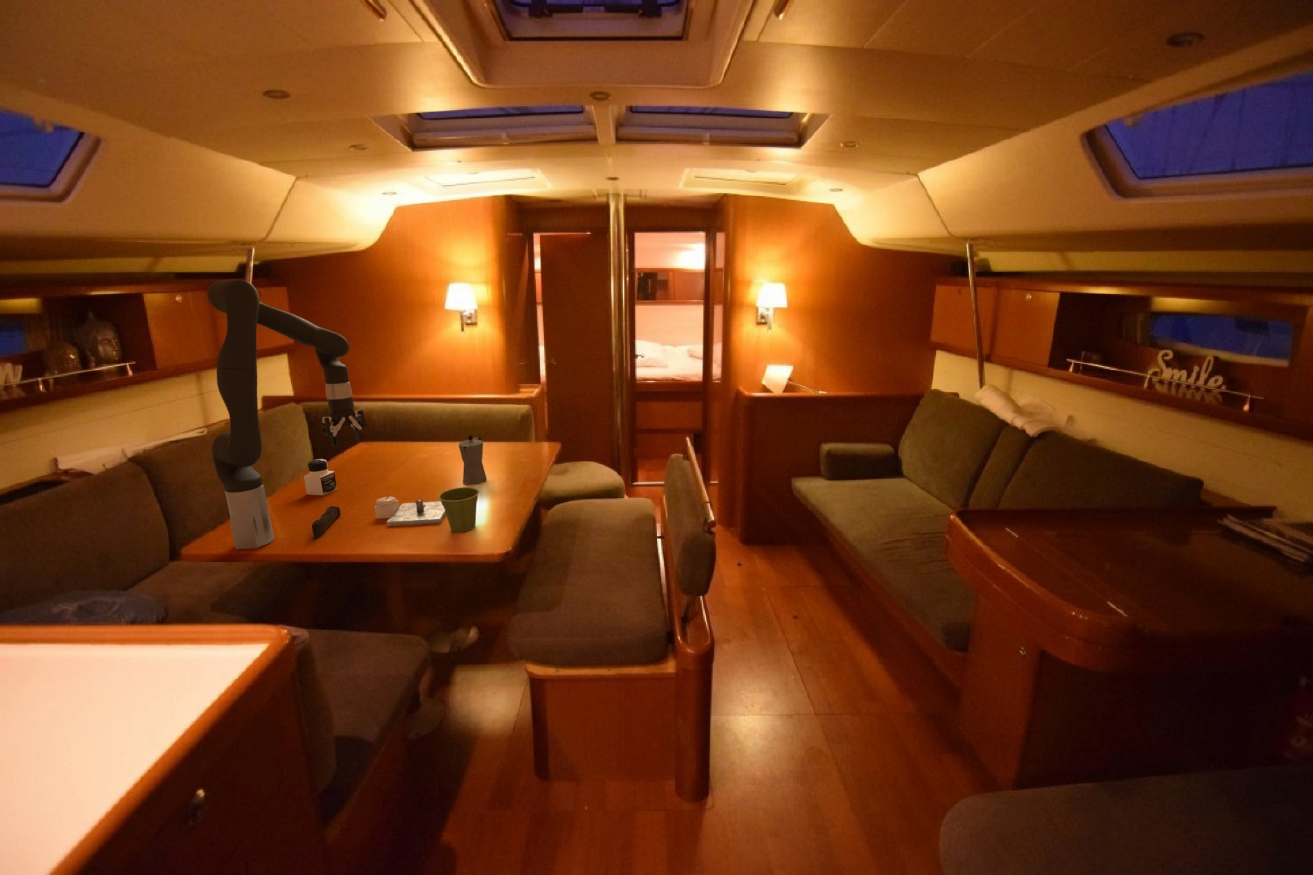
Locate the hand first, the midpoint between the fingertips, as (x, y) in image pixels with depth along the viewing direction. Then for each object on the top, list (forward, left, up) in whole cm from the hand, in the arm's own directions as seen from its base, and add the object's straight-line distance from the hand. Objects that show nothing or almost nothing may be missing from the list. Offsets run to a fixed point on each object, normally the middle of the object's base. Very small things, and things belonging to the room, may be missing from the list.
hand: (347, 443), depth 198 cm
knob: (-12, -14, -22) cm, 29 cm away
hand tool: (-20, +1, -22) cm, 30 cm away
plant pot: (-27, -41, -22) cm, 54 cm away
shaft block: (-14, -25, -21) cm, 36 cm away
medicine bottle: (+15, +18, -22) cm, 32 cm away
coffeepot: (+20, -36, -22) cm, 47 cm away
